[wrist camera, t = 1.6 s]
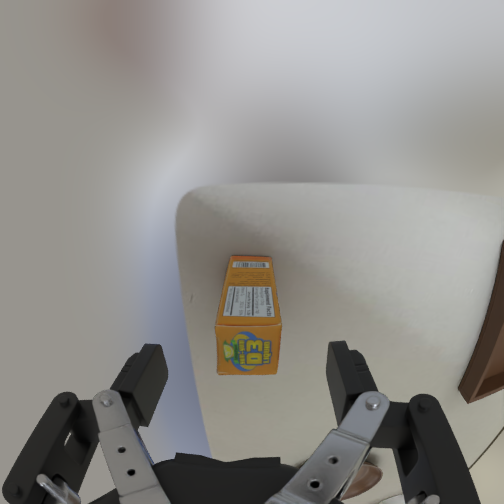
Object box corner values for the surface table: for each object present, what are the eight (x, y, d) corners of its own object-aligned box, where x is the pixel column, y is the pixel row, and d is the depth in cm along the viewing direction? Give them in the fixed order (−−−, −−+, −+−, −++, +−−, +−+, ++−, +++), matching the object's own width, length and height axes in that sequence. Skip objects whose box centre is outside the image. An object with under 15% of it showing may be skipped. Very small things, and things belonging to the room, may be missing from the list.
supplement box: (273, 294, 23) (277, 381, 14) (230, 292, 23) (209, 377, 14) (275, 254, 22) (282, 326, 12) (230, 252, 22) (205, 323, 13)
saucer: (264, 472, 32) (264, 487, 30) (362, 438, 29) (366, 454, 27) (309, 498, 36) (310, 509, 33) (388, 469, 33) (392, 481, 30)
